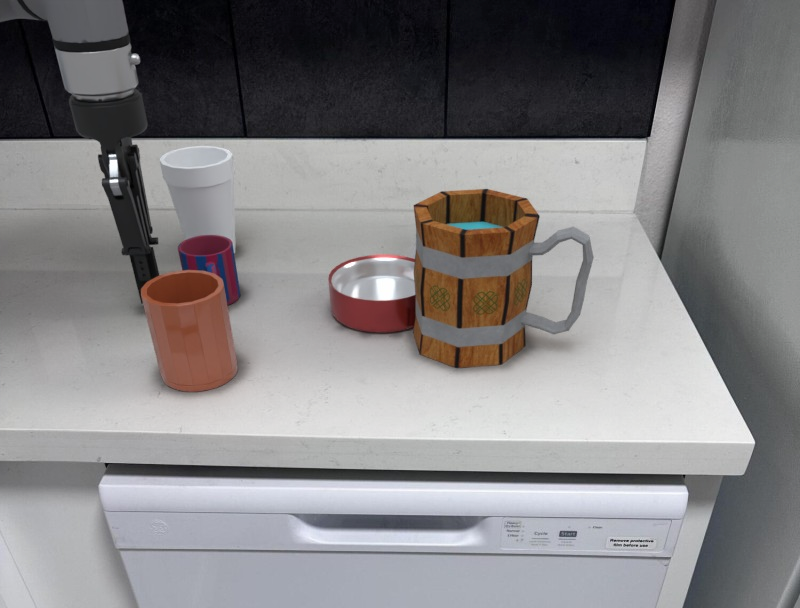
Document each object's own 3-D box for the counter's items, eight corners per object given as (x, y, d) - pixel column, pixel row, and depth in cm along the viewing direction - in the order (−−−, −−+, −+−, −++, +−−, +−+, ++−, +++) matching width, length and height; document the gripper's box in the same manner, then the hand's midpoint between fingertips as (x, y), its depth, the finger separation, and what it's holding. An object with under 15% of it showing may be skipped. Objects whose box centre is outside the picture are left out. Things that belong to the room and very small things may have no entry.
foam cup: (189, 240, 116) (170, 145, 107) (251, 240, 116) (237, 145, 107) (172, 267, 109) (151, 168, 100) (238, 267, 109) (223, 168, 100)
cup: (239, 283, 105) (232, 232, 100) (241, 318, 98) (233, 265, 93) (188, 287, 104) (178, 236, 100) (187, 323, 97) (175, 269, 92)
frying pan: (392, 229, 118) (391, 185, 114) (476, 238, 116) (479, 193, 111) (315, 327, 96) (311, 276, 91) (418, 341, 93) (419, 289, 89)
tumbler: (145, 379, 87) (123, 294, 80) (196, 346, 93) (179, 264, 86) (204, 399, 84) (185, 312, 77) (252, 364, 89) (239, 280, 83)
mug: (398, 360, 90) (396, 228, 79) (426, 307, 99) (427, 184, 89) (572, 382, 86) (594, 247, 76) (583, 325, 95) (604, 198, 85)
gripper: (133, 106, 79) (179, 322, 95) (146, 75, 88) (186, 276, 104) (56, 109, 78) (115, 327, 94) (77, 77, 88) (128, 280, 104)
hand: (152, 300), depth 99 cm, fingers closed
